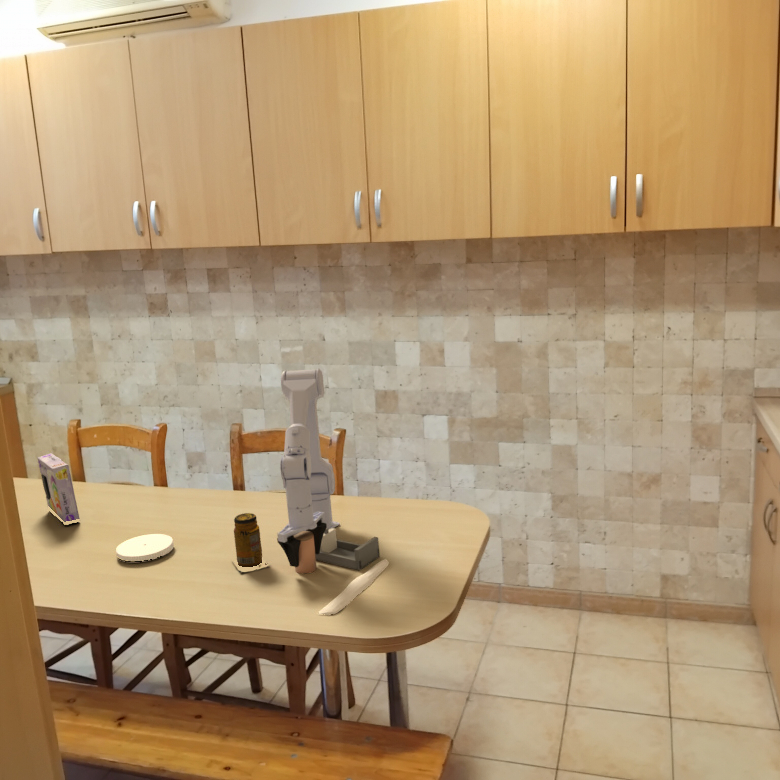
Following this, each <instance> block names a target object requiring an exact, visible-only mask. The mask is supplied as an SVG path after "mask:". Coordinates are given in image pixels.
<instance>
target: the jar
mask: <svg viewBox="0 0 780 780" xmlns="http://www.w3.org/2000/svg"><path fill="white" fill-rule="evenodd" d="M294 538H295V539H296V540H301V543H300V547H299V566H298V567H294V569H295V572H296V573H297V572H298V573H297V574H300V573H303V574H304V573H307V574H311V573H314V572H315V571H317V560H316V555H315V545H314V536H313V533H312V532H310V531H302V532H300V533H298V534H296V535H294ZM313 571H314V572H313ZM310 572H311V573H310ZM303 574H302V575H303ZM304 575H305V574H304Z"/></svg>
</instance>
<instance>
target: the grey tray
mask: <svg viewBox="0 0 780 780" xmlns="http://www.w3.org/2000/svg"><path fill="white" fill-rule="evenodd" d="M336 539H337V538H336ZM315 555H316V561H319V562H323V563H328V564H332V565H335V566H340V567H344V568H349V569H352V570H356V571H361V570H362V569H364V568H365V567H367V566H369V565H370V564H371V563H373V562H374V561H375V560H377V559H378V558H379V559H380V556H381V555H380V543H379V537H378V536H373V537H372V538H370V539H368V540H366V541H365V542H363V543H355V542H353V541H352V542H351V541H347V540H343V539H337V548H336V549H335V550H333V551H331V552H330V553H328V552H323V551H320V553H319V554H315Z"/></svg>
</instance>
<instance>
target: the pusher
mask: <svg viewBox="0 0 780 780" xmlns="http://www.w3.org/2000/svg"><path fill="white" fill-rule="evenodd" d="M336 548H337V529H336V528H331V529H329V530H328V528H326V530H325V532H324V535H323V538H322V542H321V547H320V551H323V552H328V553H330V552H331V551H333V550H335V549H336Z"/></svg>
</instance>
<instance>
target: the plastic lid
mask: <svg viewBox="0 0 780 780" xmlns="http://www.w3.org/2000/svg"><path fill="white" fill-rule="evenodd" d="M174 548H175V547H174V538H173V537H172V536H170V535H169V534H163V533H152V534H151V533H150V534H143V535H138V536H135V537H132V538H131V537H130V538H129V539H127V540H125V541H122V542H121V543H120V544H119V545H117V547H116V548H115V553H116V557H117V556H118V557H119V558H121V559H123V560H128V561H142V560H143V561H142V562H145V561H144V560H148V561H151V560H150V559H152V560H155V559H158V558H157V557H159V558H160V556H162V557H164V556H166V555H168V554H169V553H170V552H171V551H172V550H173V549H174Z"/></svg>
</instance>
